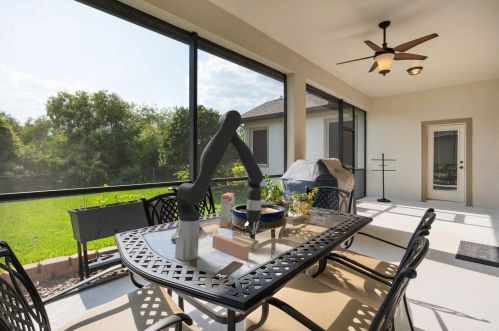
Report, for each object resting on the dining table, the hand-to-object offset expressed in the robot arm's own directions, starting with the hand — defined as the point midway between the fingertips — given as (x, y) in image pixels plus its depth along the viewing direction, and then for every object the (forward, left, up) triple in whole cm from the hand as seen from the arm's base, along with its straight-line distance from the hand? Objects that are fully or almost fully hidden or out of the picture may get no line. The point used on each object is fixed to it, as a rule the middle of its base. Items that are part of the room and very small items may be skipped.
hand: (252, 241), depth 145 cm
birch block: (-5, 0, -3) cm, 6 cm away
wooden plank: (-30, -14, -3) cm, 33 cm away
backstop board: (-16, 0, -3) cm, 16 cm away
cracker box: (+17, +38, -3) cm, 42 cm away
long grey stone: (-15, +37, -3) cm, 40 cm away
